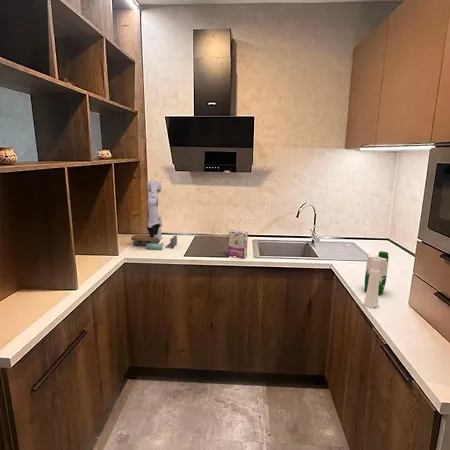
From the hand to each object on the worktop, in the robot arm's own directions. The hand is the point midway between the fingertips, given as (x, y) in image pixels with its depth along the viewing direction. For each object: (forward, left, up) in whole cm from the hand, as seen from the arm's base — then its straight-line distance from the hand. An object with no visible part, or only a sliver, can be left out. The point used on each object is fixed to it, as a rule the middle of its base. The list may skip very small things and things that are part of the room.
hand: (153, 236), depth 220 cm
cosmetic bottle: (+65, +121, -10) cm, 138 cm away
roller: (0, 0, -9) cm, 9 cm away
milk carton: (+49, +127, -10) cm, 136 cm away
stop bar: (-10, +11, -9) cm, 17 cm away
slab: (-10, -11, -5) cm, 16 cm away
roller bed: (-10, -5, -9) cm, 14 cm away
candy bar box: (+5, +57, -10) cm, 58 cm away
